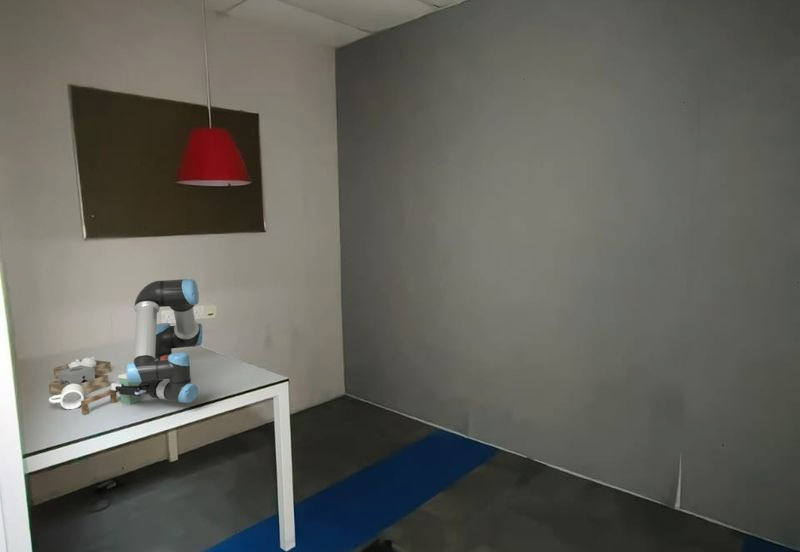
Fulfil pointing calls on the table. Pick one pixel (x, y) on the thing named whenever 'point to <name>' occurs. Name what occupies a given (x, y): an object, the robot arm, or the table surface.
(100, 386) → the corral
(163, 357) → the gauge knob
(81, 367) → the icon cube
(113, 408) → the table surface
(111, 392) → the handrail
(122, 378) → the green rectangular block
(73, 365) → the cat figurine
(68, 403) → the mug
